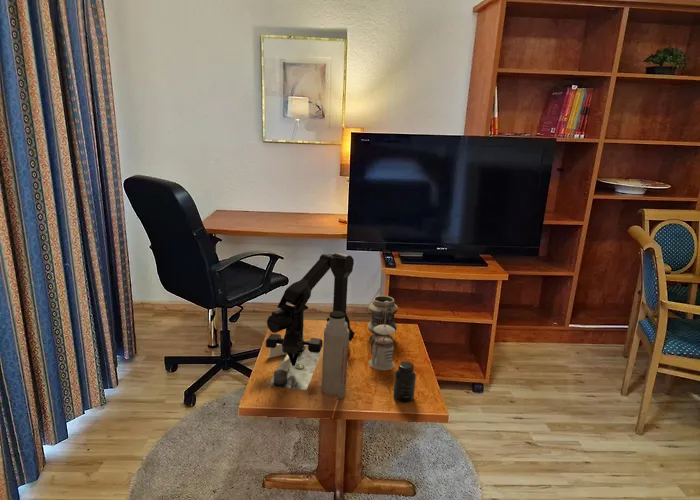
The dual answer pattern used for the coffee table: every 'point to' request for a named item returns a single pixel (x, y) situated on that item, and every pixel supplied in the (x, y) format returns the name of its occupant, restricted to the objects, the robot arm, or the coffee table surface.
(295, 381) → the plate
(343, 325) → the thermos bottle
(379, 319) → the apothecary jar
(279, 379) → the knob
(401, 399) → the supplement bottle
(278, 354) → the knob
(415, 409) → the coffee table surface
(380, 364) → the french press
